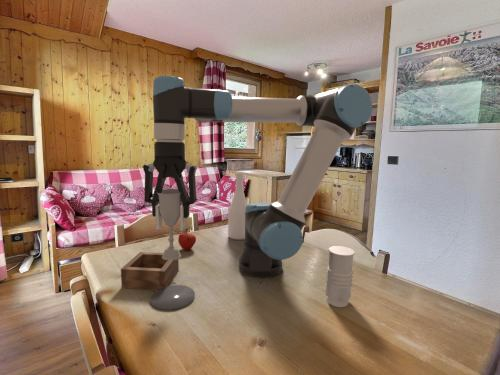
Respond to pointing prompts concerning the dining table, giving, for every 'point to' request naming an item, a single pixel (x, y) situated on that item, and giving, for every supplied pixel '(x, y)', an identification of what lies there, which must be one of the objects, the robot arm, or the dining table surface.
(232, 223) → the wine bottle
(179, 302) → the coaster
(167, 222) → the chalice
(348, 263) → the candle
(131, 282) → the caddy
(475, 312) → the dining table surface
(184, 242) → the apple
